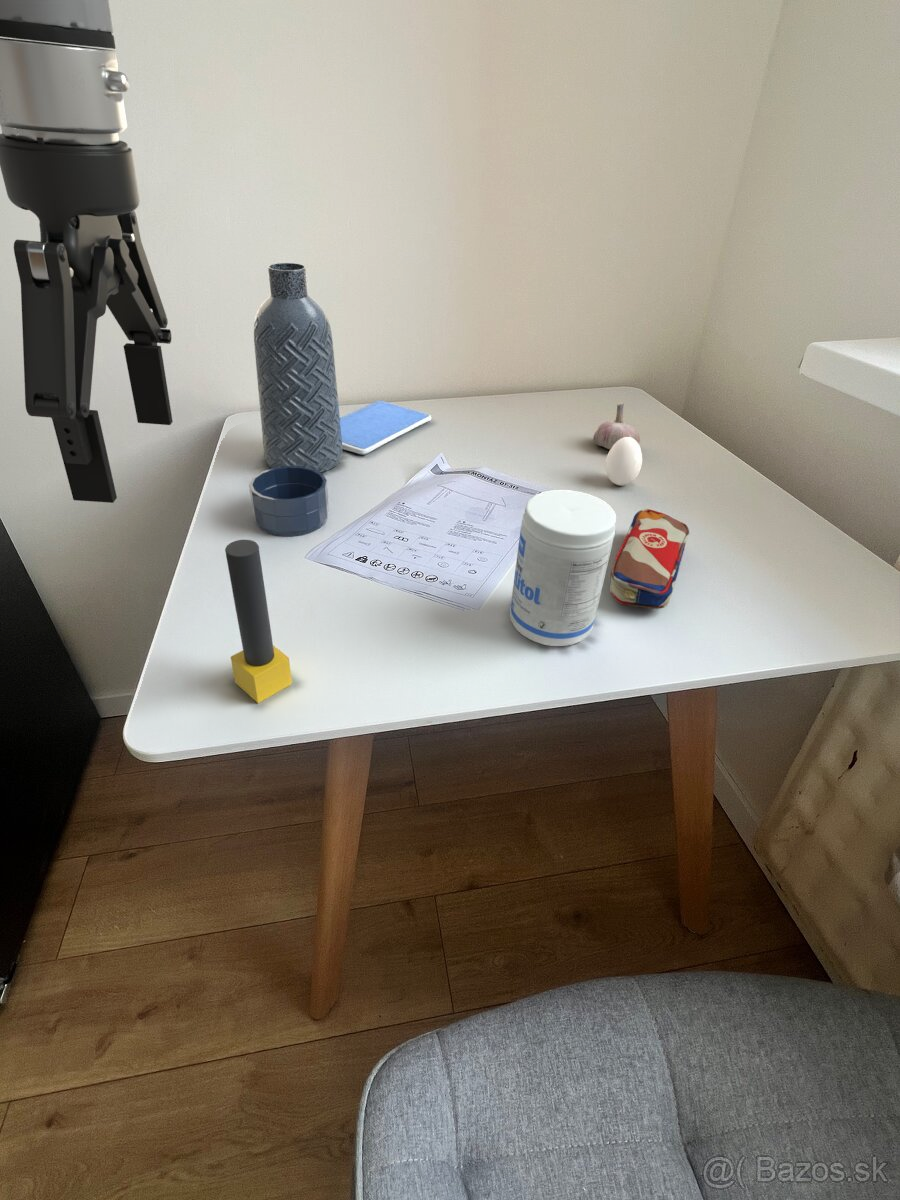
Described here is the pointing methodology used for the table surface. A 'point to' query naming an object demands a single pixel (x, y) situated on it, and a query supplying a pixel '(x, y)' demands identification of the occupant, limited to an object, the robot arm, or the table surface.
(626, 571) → the pencil case
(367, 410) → the tablet
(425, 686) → the table surface
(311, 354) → the vase
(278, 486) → the bowl
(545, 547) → the supplement tub
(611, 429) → the garlic bulb
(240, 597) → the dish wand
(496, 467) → the table surface
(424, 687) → the table surface
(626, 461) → the egg
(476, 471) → the table surface
